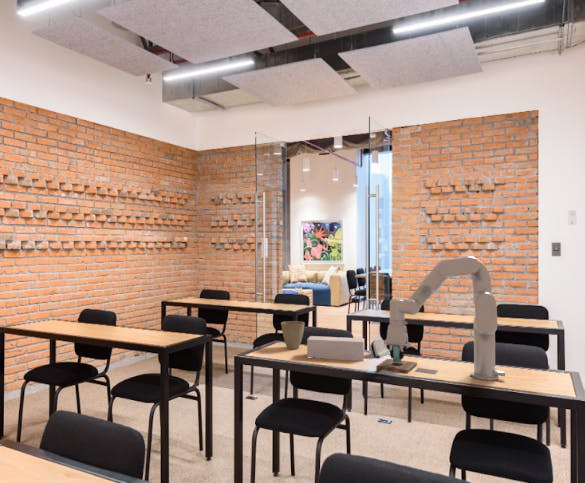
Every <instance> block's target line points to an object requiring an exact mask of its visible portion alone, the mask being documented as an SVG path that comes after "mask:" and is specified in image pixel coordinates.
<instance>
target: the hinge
mask: <svg viewBox="0 0 585 483" xmlns="http://www.w3.org/2000/svg"><path fill="white" fill-rule="evenodd" d="M384 342H385V340H384V339H381V338H380V339H375V340H373V341H371V342H370V343H369V350H370V355H371V357H372V358H375V357H379V359H381V358H384V357H386V356H387V355H390V350H389V348H388V347H387V346H386V345H385V344H384Z"/></svg>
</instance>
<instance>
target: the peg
mask: <svg viewBox="0 0 585 483" xmlns="http://www.w3.org/2000/svg"><path fill="white" fill-rule="evenodd" d="M400 352H401V349H400V346H398V345H393V358H392V359H393V362H401V361H402V359H401V360H400Z"/></svg>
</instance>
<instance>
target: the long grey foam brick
mask: <svg viewBox="0 0 585 483" xmlns="http://www.w3.org/2000/svg"><path fill="white" fill-rule="evenodd" d="M306 340H307V341H306V344H307V345H306V347H307V348H306V358H307V357H315V358H314V359H320V358H328V359H327V360H338V359H341V360H342V361H357V362H358V361H360V362H364V360H365V338H363V337H362V338H360V337H359V338H358V337H342V336H341V337H337V336H318V335H315V336H314V335H310V336H309V337H308V338H307V339H306ZM341 360H340V361H341Z"/></svg>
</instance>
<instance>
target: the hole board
mask: <svg viewBox="0 0 585 483" xmlns="http://www.w3.org/2000/svg"><path fill="white" fill-rule="evenodd" d="M417 366H418V363H417V361H416V362H415V361H410V360H409V361H408V360H401V362H393V358H385V360H383V361H381V362H380V363H379V364H377V365H376V373H380V372H381V371H388V372H395V373H403V374H409V373H410V372H411V371H412V370H414V369H415V368H416V367H417Z"/></svg>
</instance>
